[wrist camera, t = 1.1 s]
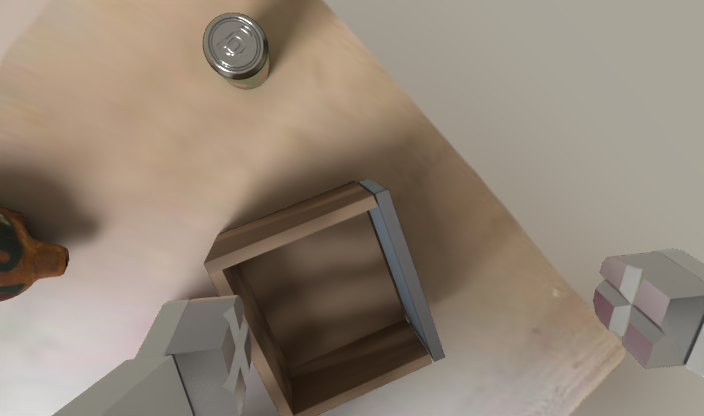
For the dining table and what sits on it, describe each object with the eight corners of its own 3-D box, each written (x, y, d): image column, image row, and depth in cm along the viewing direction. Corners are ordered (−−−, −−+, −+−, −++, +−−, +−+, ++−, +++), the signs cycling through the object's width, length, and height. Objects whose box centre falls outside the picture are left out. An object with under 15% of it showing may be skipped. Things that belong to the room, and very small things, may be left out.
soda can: (210, 64, 41) (185, 43, 30) (242, 28, 41) (230, -7, 30) (247, 100, 43) (238, 92, 31) (279, 65, 43) (281, 45, 31)
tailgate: (419, 321, 51) (445, 357, 43) (410, 325, 51) (434, 361, 43) (368, 177, 46) (388, 189, 38) (358, 182, 46) (375, 194, 38)
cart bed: (404, 320, 52) (432, 362, 43) (284, 373, 51) (286, 429, 42) (354, 181, 47) (373, 195, 38) (217, 235, 45) (203, 263, 36)
